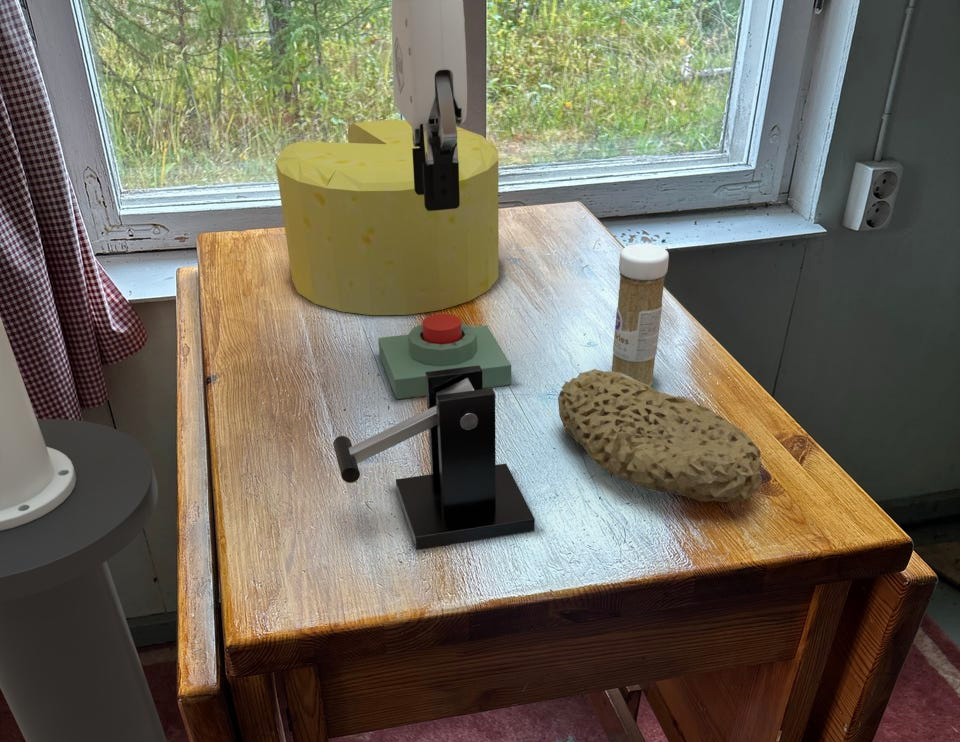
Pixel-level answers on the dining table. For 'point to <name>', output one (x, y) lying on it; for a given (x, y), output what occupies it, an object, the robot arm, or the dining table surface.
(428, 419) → the lever
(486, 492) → the bracket
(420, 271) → the cheese
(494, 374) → the button box
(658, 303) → the sprinkles bottle
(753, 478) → the sponge
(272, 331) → the dining table surface
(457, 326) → the button
